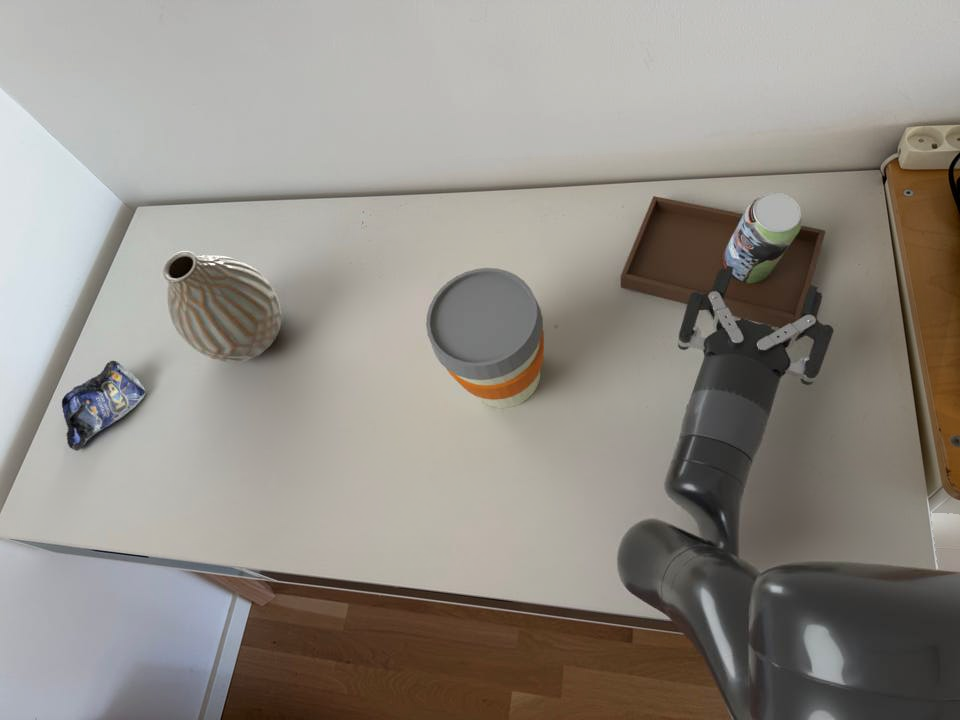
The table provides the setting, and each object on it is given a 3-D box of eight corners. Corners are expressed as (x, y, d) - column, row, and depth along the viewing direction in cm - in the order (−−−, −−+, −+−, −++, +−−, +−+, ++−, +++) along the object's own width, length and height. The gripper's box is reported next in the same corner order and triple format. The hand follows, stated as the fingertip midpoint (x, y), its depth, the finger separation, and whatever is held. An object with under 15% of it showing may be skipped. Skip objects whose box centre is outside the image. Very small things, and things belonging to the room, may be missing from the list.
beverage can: (729, 241, 83) (743, 177, 73) (789, 256, 80) (813, 191, 70) (713, 281, 81) (725, 220, 70) (775, 297, 78) (797, 237, 68)
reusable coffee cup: (551, 423, 78) (534, 370, 65) (450, 420, 81) (415, 367, 68) (558, 331, 83) (544, 264, 70) (463, 331, 86) (432, 266, 73)
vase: (284, 281, 96) (218, 205, 81) (307, 350, 90) (240, 281, 74) (204, 320, 96) (122, 251, 81) (221, 392, 90) (137, 331, 74)
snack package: (133, 451, 88) (155, 372, 93) (92, 437, 83) (118, 354, 88) (71, 456, 93) (95, 380, 97) (28, 443, 87) (56, 363, 92)
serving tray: (820, 243, 81) (826, 230, 79) (794, 331, 77) (799, 320, 74) (652, 208, 88) (653, 195, 86) (620, 287, 84) (620, 276, 82)
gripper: (813, 420, 59) (852, 276, 64) (658, 374, 64) (706, 243, 69) (795, 447, 65) (831, 314, 71) (655, 403, 71) (699, 282, 76)
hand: (769, 279), depth 70 cm, fingers open, 8 cm apart
